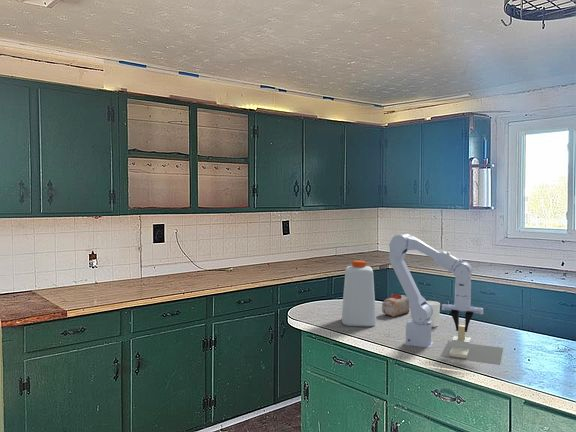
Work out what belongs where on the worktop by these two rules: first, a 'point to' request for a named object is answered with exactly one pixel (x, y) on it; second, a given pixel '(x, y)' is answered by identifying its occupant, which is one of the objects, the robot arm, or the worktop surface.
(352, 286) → the plastic bottle
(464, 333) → the beige blocky piece
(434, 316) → the white cup
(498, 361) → the mat
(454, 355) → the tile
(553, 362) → the worktop surface
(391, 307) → the food item
